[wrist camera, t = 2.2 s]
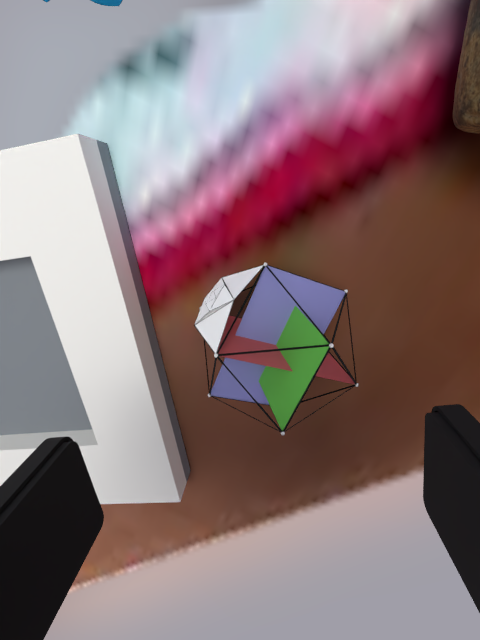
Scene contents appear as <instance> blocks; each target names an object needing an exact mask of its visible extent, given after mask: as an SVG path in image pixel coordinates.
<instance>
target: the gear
mask: <svg viewBox="0 0 480 640" xmlns="http://www.w3.org/2000/svg"><path fill="white" fill-rule="evenodd" d="M44 1H45V2H48V1H49V0H44ZM91 1H93V2H95V3H97V4H101V5H106V6H119V5H120V4H121V2H122V0H91Z"/></svg>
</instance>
